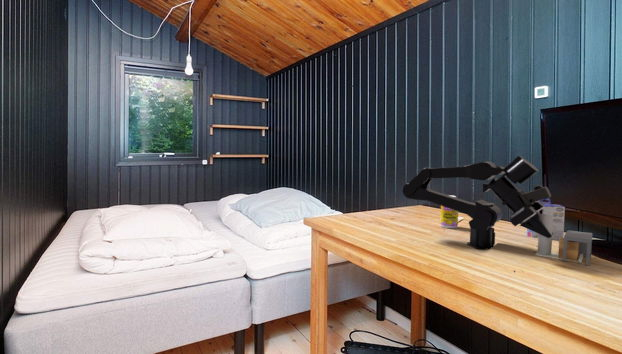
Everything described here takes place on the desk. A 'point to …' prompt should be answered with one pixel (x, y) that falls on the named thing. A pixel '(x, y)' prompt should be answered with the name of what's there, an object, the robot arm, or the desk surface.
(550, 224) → the silver l-shaped stand
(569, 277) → the desk surface
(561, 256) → the block
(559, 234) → the ink cartridge box
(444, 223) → the supplement bottle
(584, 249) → the tunnel
